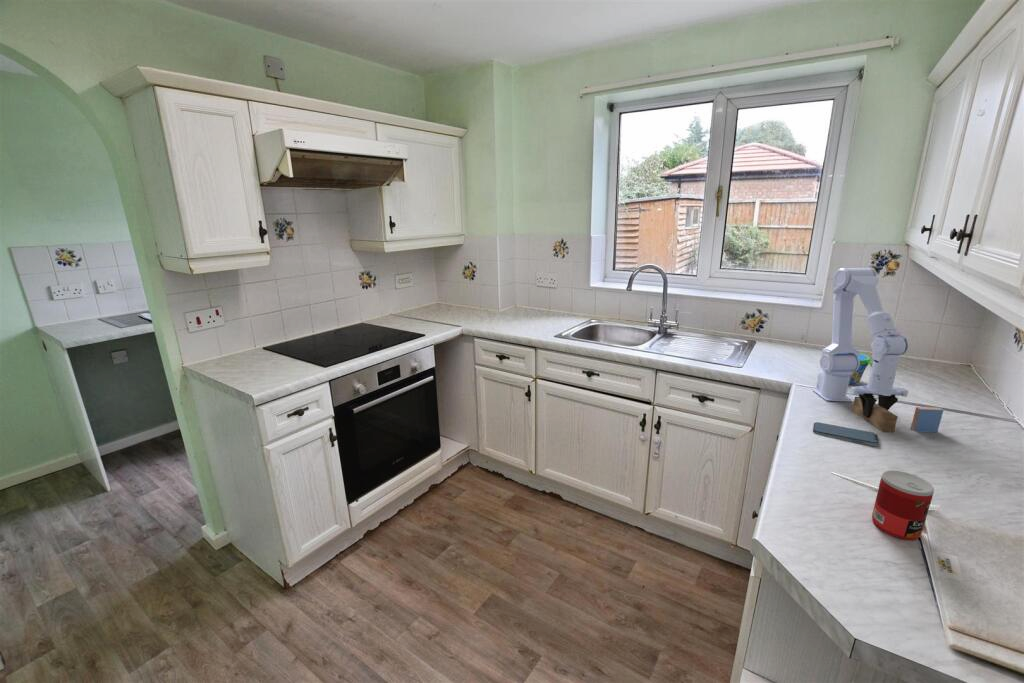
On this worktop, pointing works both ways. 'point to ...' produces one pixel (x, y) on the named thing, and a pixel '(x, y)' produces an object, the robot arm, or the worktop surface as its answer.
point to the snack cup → (863, 364)
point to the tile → (926, 419)
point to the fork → (932, 507)
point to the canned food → (902, 504)
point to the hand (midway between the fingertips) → (872, 416)
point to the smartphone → (846, 434)
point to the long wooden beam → (877, 416)
